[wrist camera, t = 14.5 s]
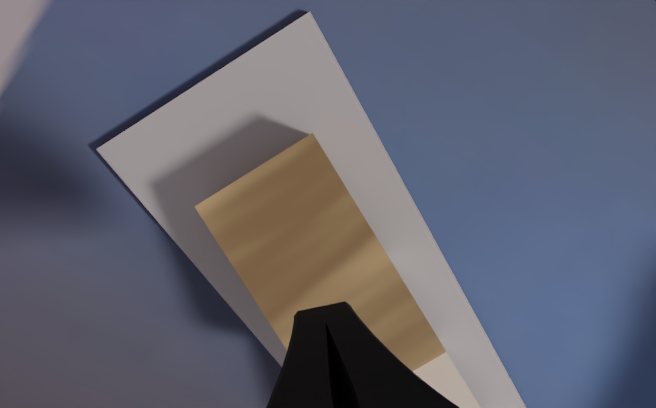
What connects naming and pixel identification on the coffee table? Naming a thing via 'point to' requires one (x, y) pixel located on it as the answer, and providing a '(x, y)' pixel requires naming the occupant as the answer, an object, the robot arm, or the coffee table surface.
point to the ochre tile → (314, 251)
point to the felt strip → (268, 141)
